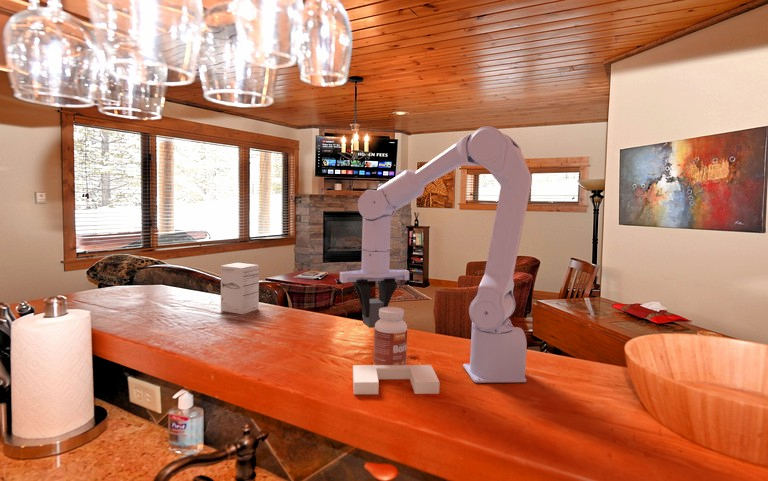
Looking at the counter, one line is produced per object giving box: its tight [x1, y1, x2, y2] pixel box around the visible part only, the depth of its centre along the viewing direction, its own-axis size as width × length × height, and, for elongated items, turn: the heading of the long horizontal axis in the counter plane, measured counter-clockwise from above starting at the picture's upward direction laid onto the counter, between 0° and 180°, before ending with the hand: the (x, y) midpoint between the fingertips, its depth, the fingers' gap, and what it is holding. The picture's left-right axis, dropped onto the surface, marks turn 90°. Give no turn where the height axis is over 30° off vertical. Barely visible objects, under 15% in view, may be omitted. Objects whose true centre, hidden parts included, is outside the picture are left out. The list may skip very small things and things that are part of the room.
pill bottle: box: [373, 306, 408, 365], centre depth 85 cm, size 6×6×11 cm
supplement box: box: [220, 262, 260, 315], centre depth 123 cm, size 7×7×13 cm
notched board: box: [352, 364, 441, 395], centre depth 77 cm, size 14×8×2 cm, turn 95°
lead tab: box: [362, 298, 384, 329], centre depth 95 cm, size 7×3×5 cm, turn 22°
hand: (374, 315), depth 93 cm, fingers closed on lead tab, 3 cm apart
